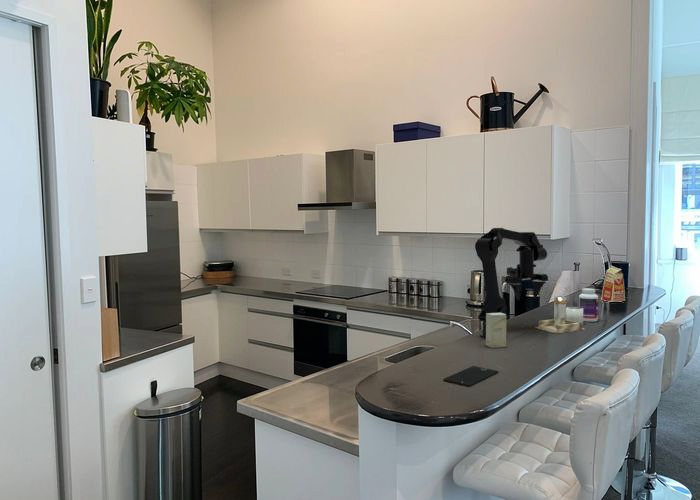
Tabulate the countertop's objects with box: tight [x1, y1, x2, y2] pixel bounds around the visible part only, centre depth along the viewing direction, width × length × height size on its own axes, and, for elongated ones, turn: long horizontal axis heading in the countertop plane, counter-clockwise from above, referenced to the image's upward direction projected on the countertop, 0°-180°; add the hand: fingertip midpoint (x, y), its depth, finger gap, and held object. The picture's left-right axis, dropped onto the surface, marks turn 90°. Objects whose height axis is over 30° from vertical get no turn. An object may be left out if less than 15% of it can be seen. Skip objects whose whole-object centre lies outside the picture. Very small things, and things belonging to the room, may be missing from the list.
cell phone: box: [442, 365, 499, 388], centre depth 155 cm, size 9×18×1 cm, turn 137°
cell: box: [553, 295, 567, 328], centre depth 218 cm, size 5×5×14 cm
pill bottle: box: [578, 287, 599, 323], centre depth 235 cm, size 8×8×14 cm
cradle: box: [534, 318, 585, 334], centre depth 219 cm, size 16×11×3 cm
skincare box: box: [485, 313, 507, 349], centre depth 191 cm, size 6×4×12 cm
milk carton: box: [600, 265, 626, 303], centre depth 285 cm, size 9×9×20 cm
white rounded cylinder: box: [566, 306, 584, 326], centre depth 229 cm, size 7×7×7 cm
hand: (526, 298), depth 218 cm, fingers open, 9 cm apart
